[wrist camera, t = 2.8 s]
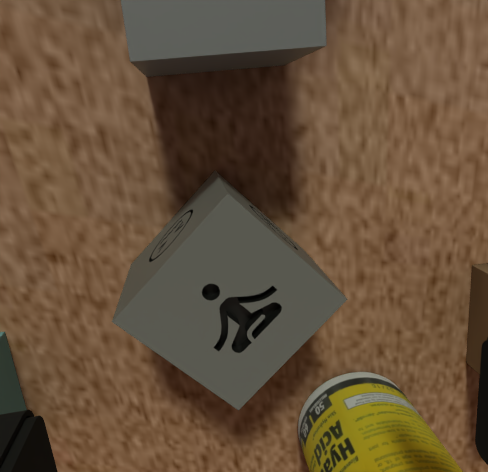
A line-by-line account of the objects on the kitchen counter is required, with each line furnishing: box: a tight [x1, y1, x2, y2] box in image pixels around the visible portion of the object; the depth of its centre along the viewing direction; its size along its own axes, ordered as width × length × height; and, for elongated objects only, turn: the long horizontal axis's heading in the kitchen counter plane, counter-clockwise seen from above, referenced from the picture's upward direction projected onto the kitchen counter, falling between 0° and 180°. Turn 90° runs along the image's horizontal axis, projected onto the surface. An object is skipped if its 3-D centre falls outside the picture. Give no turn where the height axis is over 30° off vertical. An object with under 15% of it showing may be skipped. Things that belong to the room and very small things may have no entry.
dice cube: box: [112, 171, 347, 410], centre depth 15 cm, size 5×5×5 cm
